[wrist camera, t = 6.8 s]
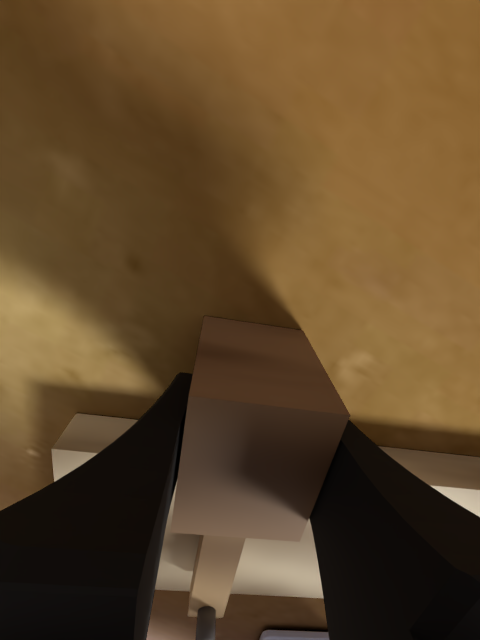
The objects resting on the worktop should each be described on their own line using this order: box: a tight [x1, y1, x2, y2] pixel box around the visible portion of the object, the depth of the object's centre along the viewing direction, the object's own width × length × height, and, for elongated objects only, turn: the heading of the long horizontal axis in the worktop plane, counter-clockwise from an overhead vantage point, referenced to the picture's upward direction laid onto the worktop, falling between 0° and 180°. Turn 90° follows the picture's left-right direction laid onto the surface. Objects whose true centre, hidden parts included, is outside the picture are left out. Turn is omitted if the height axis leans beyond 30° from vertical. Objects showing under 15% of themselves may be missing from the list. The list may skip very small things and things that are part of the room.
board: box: [51, 413, 480, 598], centre depth 15 cm, size 9×26×2 cm, turn 80°
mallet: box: [170, 316, 350, 640], centre depth 12 cm, size 13×4×5 cm, turn 170°
